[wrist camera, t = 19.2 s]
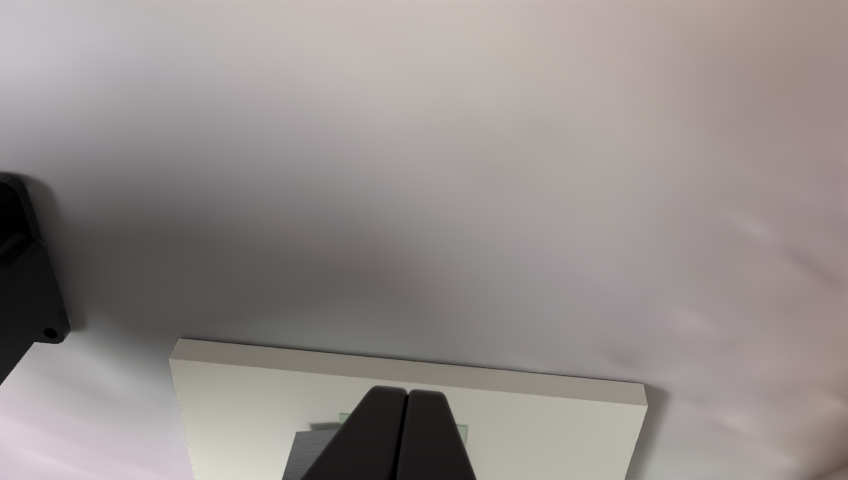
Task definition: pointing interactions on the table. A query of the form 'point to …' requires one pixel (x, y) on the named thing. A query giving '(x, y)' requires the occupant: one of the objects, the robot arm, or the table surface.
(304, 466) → the bar
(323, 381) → the board
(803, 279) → the table surface
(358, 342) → the table surface
